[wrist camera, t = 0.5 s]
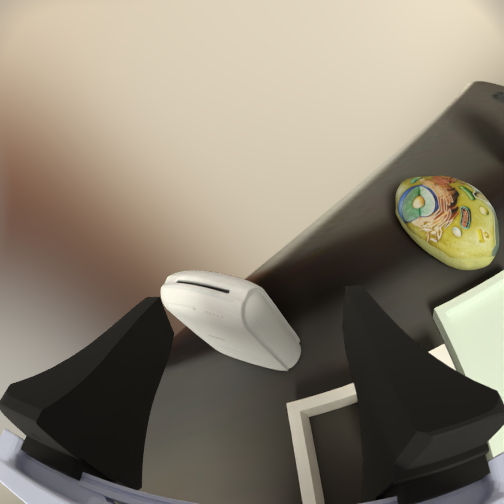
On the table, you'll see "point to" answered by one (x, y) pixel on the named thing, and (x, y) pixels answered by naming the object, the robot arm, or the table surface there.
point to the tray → (477, 339)
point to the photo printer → (232, 317)
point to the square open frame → (303, 434)
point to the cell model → (449, 220)
